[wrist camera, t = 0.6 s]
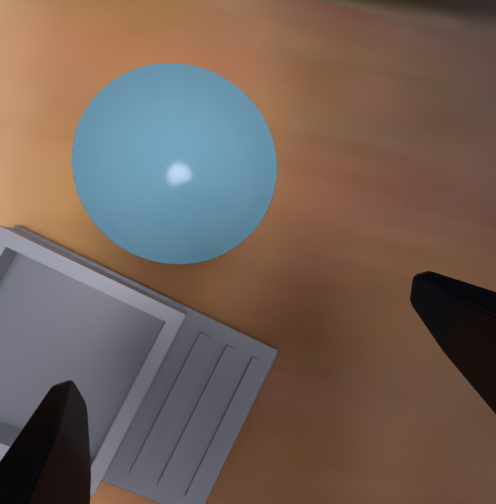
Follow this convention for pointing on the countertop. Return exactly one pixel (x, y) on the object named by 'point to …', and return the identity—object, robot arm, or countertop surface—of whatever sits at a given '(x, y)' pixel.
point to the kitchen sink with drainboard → (123, 369)
